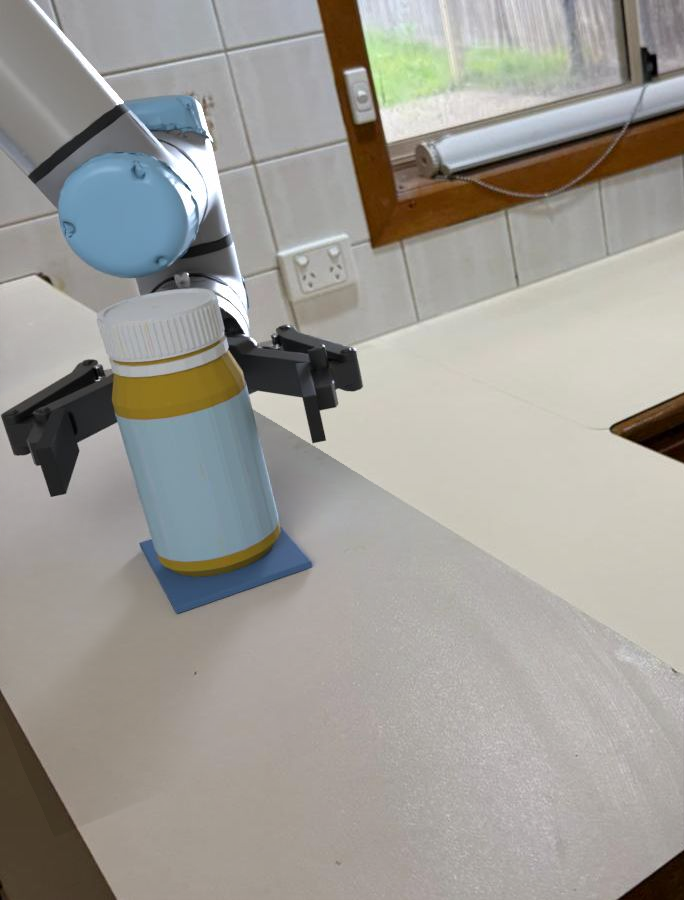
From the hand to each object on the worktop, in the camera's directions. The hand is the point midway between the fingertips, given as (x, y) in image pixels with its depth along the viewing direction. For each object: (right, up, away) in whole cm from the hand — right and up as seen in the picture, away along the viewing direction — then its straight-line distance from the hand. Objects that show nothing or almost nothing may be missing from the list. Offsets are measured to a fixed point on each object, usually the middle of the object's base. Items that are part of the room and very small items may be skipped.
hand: (186, 445), depth 61 cm
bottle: (0, -6, +6) cm, 9 cm away
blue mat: (0, -7, +6) cm, 9 cm away
